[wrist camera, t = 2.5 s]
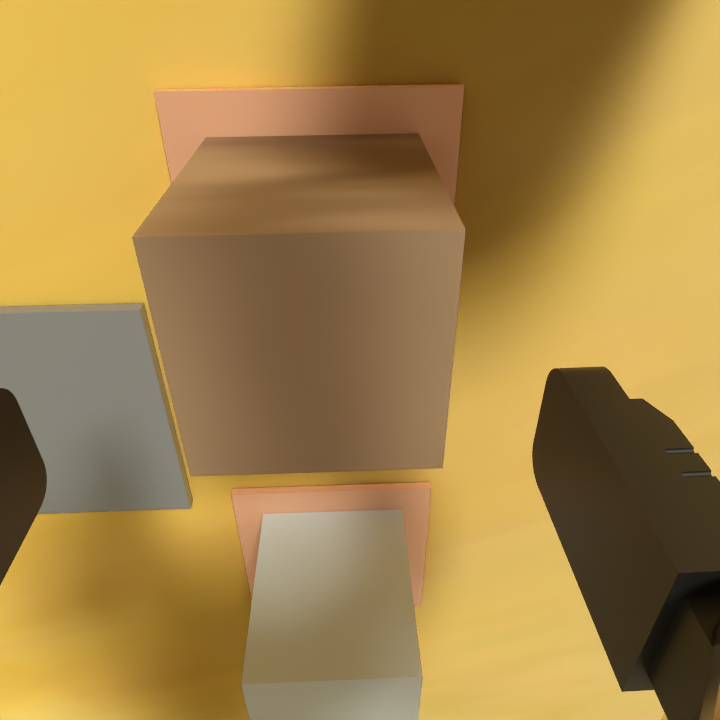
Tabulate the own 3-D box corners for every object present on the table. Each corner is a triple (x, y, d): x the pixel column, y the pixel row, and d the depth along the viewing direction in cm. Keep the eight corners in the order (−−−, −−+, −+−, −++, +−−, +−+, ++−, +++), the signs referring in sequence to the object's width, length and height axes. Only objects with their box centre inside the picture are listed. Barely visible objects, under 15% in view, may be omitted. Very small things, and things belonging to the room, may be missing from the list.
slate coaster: (143, 303, 16) (139, 310, 16) (192, 499, 21) (190, 508, 21) (-147, 310, 16) (-157, 317, 16) (-35, 507, 21) (-41, 516, 20)
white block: (401, 509, 21) (422, 677, 16) (398, 592, 24) (414, 757, 19) (263, 513, 21) (241, 684, 16) (275, 596, 24) (260, 763, 19)
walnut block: (418, 133, 14) (465, 229, 9) (410, 317, 17) (442, 468, 12) (205, 137, 14) (132, 237, 9) (233, 321, 16) (190, 476, 12)
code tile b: (429, 482, 21) (431, 488, 21) (420, 599, 25) (421, 605, 25) (232, 488, 21) (231, 495, 20) (254, 605, 25) (253, 612, 24)
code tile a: (462, 84, 14) (464, 86, 13) (441, 339, 17) (442, 345, 17) (157, 89, 13) (153, 91, 13) (205, 346, 17) (203, 352, 17)
